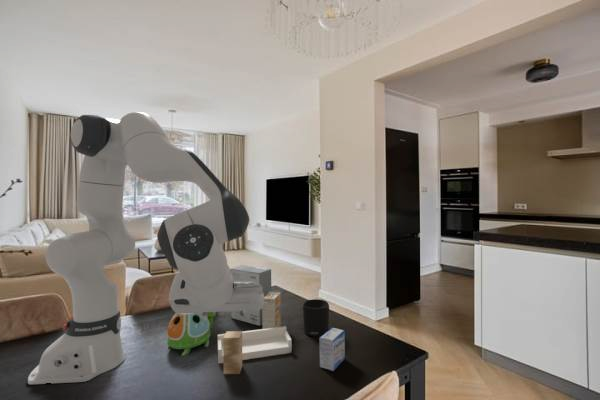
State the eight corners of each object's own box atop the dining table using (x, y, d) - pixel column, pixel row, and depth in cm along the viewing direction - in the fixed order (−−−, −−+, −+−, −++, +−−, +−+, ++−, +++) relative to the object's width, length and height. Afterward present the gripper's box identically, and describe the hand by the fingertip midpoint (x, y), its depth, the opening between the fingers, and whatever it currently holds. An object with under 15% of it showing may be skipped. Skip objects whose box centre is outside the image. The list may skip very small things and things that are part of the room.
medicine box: (333, 372, 85) (333, 340, 85) (319, 367, 87) (319, 337, 87) (345, 359, 92) (345, 330, 92) (331, 355, 94) (331, 326, 94)
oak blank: (223, 374, 84) (223, 337, 84) (226, 366, 88) (226, 331, 88) (239, 373, 84) (239, 337, 84) (242, 365, 88) (242, 331, 88)
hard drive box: (272, 319, 121) (272, 269, 121) (260, 326, 115) (259, 273, 114) (243, 311, 129) (242, 264, 129) (230, 318, 123) (229, 268, 123)
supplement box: (275, 336, 107) (275, 298, 106) (262, 335, 108) (261, 298, 107) (281, 326, 115) (281, 291, 115) (269, 325, 116) (268, 290, 115)
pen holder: (297, 331, 111) (297, 303, 111) (316, 323, 117) (316, 297, 117) (315, 340, 104) (315, 310, 104) (334, 332, 110) (334, 304, 110)
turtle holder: (228, 336, 107) (227, 302, 107) (184, 360, 92) (183, 320, 91) (203, 328, 114) (203, 296, 113) (158, 349, 98) (158, 312, 98)
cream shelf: (218, 363, 90) (218, 346, 90) (217, 350, 97) (217, 334, 97) (291, 352, 96) (291, 336, 96) (285, 340, 103) (285, 326, 103)
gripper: (262, 270, 68) (267, 299, 78) (168, 274, 67) (185, 303, 77) (260, 297, 63) (266, 324, 73) (160, 301, 63) (180, 328, 73)
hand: (224, 313), depth 75 cm, fingers open, 8 cm apart
